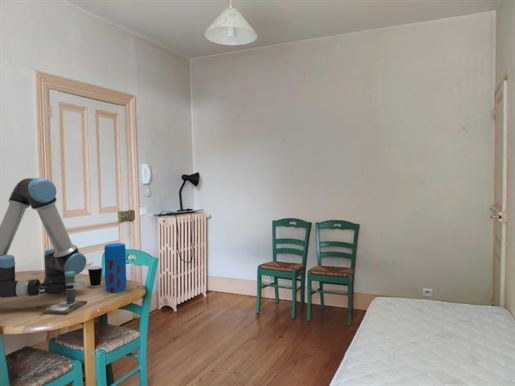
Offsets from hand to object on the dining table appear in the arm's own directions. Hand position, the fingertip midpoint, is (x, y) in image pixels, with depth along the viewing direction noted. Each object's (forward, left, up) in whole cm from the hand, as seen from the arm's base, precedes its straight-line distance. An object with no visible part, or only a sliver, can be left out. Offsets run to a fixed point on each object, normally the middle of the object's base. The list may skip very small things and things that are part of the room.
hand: (82, 284), depth 186 cm
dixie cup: (-31, -11, -10) cm, 34 cm away
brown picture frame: (+5, -5, -10) cm, 13 cm away
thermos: (-26, +4, -10) cm, 28 cm away
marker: (+2, -5, -8) cm, 10 cm away
